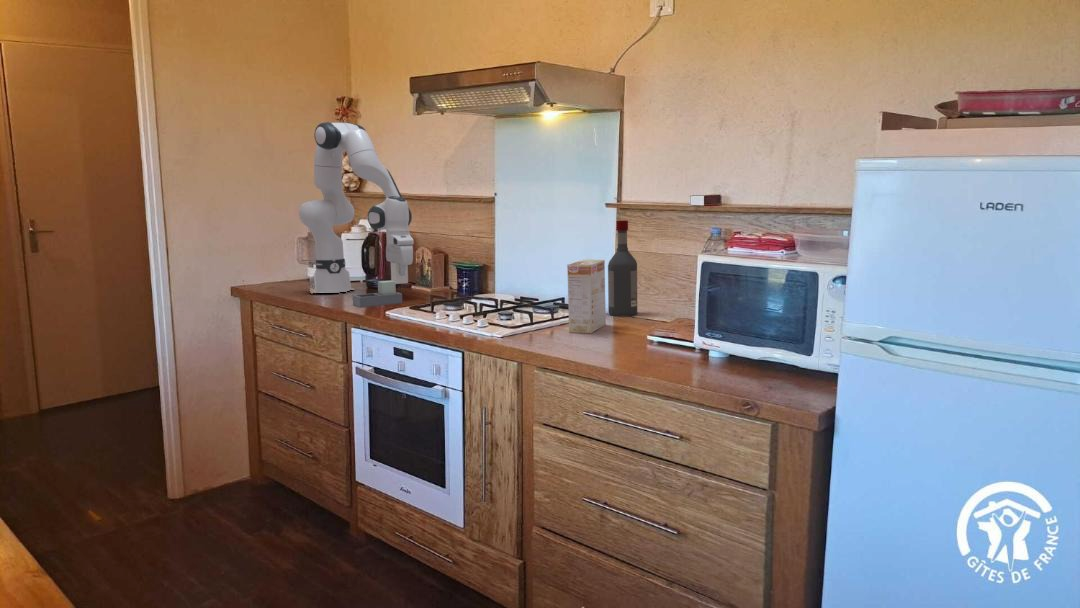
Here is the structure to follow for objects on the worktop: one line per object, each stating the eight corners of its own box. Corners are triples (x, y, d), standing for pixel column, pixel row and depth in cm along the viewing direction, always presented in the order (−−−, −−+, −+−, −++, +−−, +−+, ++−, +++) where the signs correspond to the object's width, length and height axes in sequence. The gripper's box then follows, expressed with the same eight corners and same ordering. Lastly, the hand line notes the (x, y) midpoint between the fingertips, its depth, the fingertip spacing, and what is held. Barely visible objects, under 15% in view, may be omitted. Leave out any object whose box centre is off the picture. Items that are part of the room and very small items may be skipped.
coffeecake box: (584, 323, 227) (582, 259, 225) (606, 324, 225) (605, 259, 222) (567, 332, 214) (566, 264, 211) (591, 333, 211) (590, 264, 208)
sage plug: (378, 302, 281) (377, 281, 280) (391, 301, 284) (390, 280, 283) (383, 304, 277) (382, 282, 276) (396, 303, 280) (395, 281, 278)
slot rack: (353, 306, 278) (352, 295, 278) (394, 301, 286) (394, 291, 286) (360, 308, 271) (359, 297, 270) (402, 304, 279) (402, 293, 278)
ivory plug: (391, 282, 294) (390, 262, 293) (403, 281, 297) (402, 261, 295) (395, 284, 290) (395, 263, 288) (408, 283, 292) (407, 262, 291)
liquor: (608, 316, 240) (607, 221, 236) (609, 311, 249) (608, 220, 245) (637, 316, 239) (636, 220, 235) (637, 311, 248) (636, 219, 244)
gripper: (381, 237, 298) (382, 272, 300) (399, 240, 280) (400, 277, 282) (396, 237, 301) (397, 271, 303) (415, 240, 283) (416, 276, 286)
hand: (399, 274), depth 293 cm, fingers closed on ivory plug, 5 cm apart
